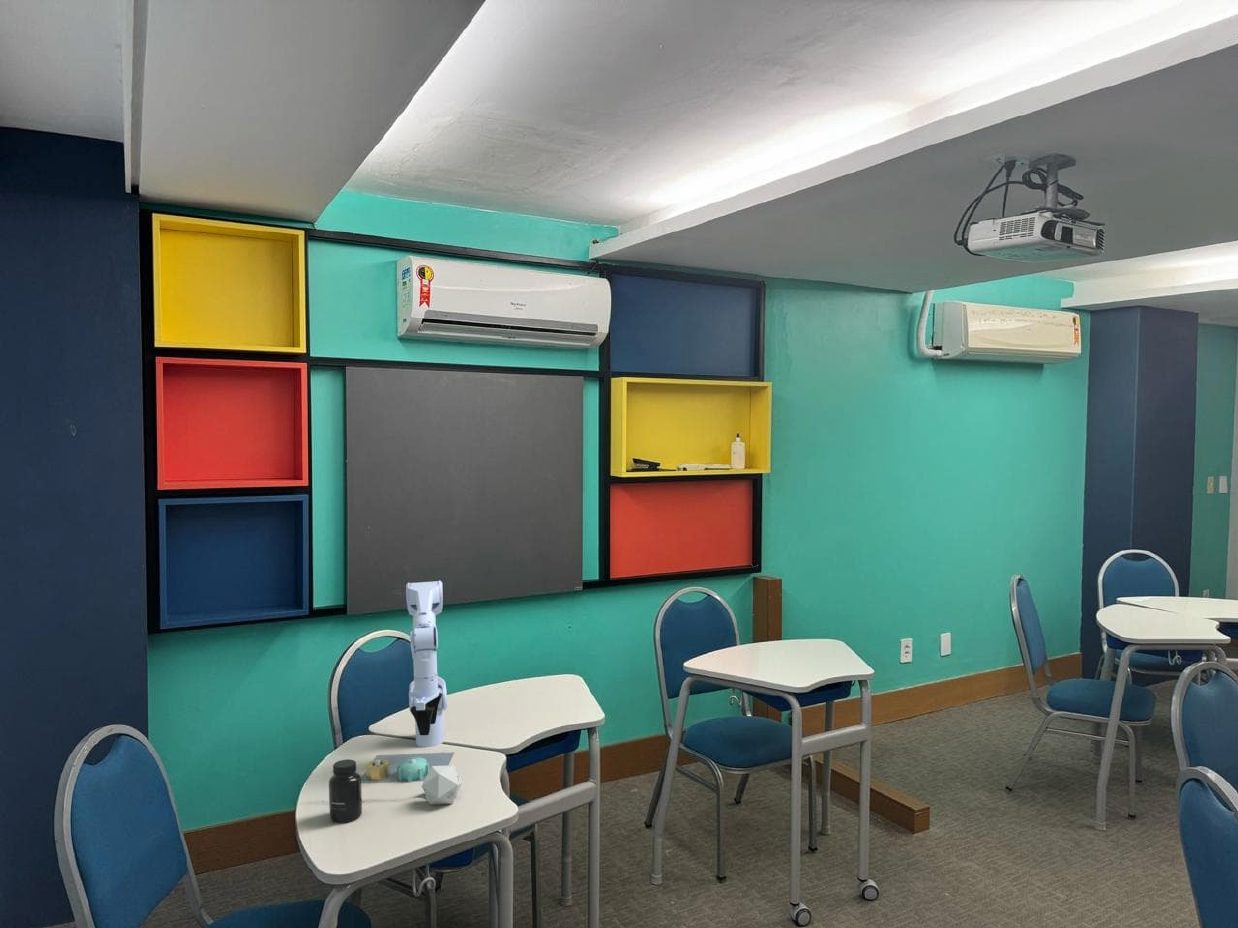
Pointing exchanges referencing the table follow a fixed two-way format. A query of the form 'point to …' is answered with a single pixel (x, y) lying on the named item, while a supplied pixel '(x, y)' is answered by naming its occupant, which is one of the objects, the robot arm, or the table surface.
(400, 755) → the gear board
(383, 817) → the table surface
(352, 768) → the supplement bottle
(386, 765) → the yellow faceted ring
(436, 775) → the die
